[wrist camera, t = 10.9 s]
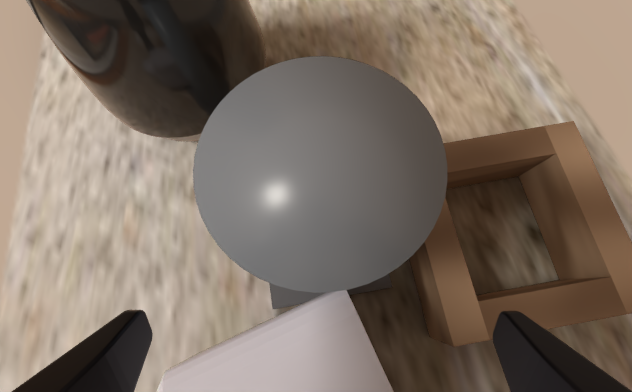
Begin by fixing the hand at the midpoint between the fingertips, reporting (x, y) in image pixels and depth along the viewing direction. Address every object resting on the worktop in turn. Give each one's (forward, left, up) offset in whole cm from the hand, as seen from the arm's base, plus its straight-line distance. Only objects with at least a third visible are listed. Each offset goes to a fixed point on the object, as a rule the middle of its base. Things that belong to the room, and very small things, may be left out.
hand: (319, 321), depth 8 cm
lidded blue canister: (+4, -1, -10) cm, 11 cm away
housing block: (+2, -11, -11) cm, 15 cm away
